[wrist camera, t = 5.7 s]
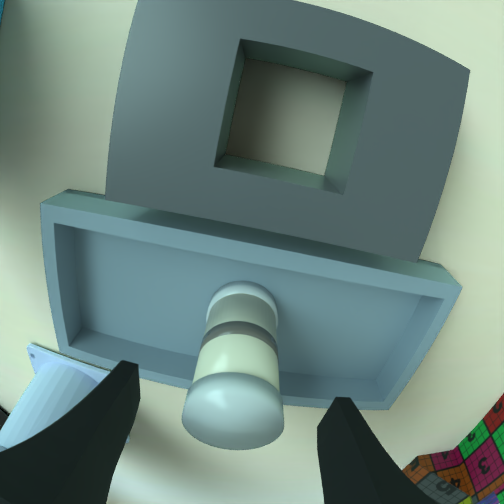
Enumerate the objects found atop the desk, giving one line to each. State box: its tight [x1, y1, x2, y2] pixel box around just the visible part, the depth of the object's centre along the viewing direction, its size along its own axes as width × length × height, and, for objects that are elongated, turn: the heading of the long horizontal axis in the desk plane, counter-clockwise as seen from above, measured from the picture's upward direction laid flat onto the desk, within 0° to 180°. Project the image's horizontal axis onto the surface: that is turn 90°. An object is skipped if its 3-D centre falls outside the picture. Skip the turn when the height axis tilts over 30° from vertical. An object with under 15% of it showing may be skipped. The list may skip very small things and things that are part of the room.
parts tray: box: [40, 189, 462, 410], centre depth 15 cm, size 9×20×2 cm, turn 78°
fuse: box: [182, 280, 284, 450], centre depth 13 cm, size 3×3×7 cm
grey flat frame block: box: [105, 0, 470, 263], centre depth 11 cm, size 8×12×4 cm, turn 78°
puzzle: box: [402, 393, 504, 504], centre depth 19 cm, size 25×17×14 cm
